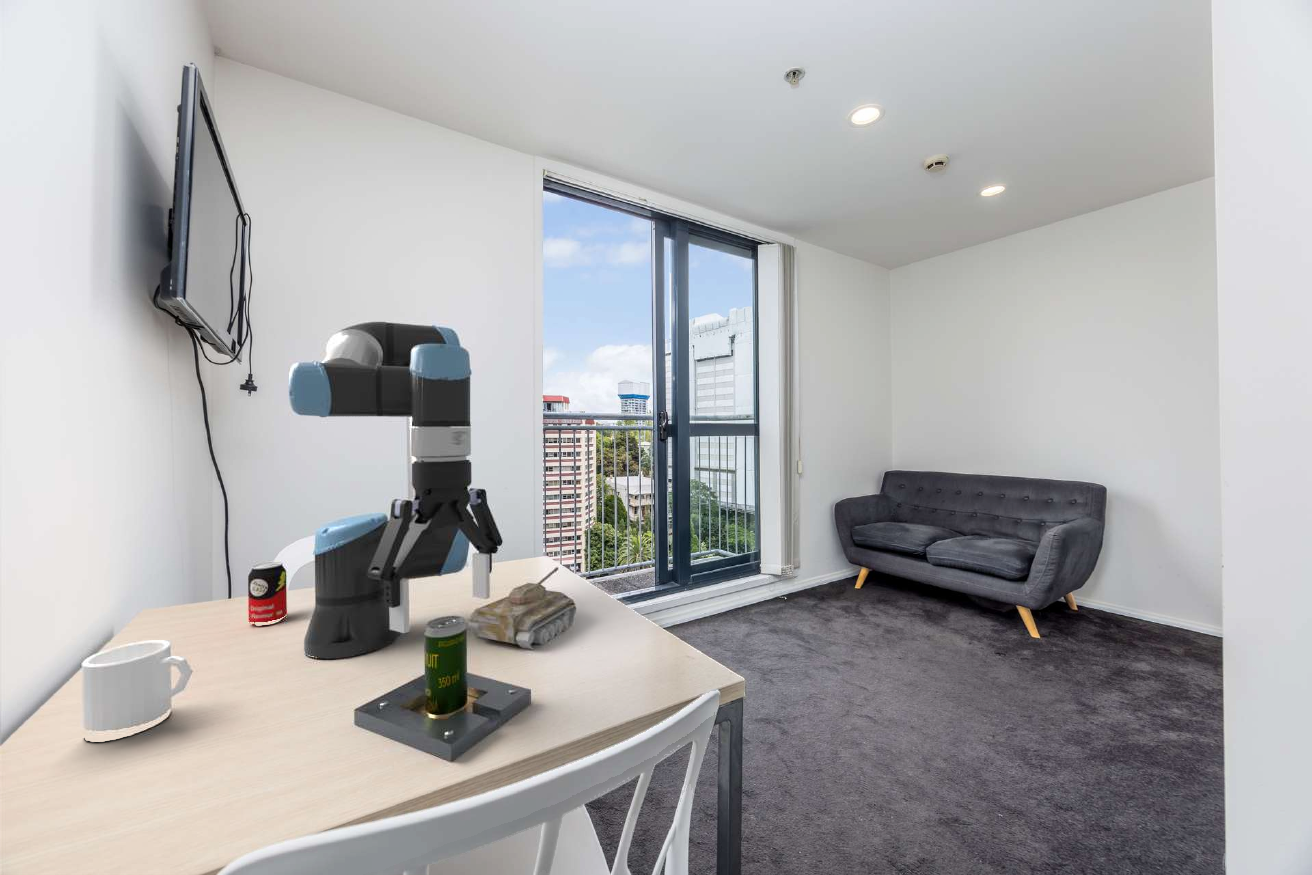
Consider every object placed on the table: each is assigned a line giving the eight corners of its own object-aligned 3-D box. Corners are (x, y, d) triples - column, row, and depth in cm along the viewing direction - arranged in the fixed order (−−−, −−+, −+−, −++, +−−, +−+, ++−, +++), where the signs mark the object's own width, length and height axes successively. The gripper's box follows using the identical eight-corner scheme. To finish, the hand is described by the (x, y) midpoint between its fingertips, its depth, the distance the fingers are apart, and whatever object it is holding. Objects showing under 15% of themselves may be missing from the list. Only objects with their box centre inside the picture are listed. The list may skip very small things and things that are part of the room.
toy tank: (463, 643, 93) (463, 589, 93) (531, 608, 111) (530, 563, 111) (530, 656, 87) (529, 599, 87) (590, 617, 105) (589, 570, 105)
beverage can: (244, 623, 104) (243, 566, 104) (280, 614, 109) (279, 559, 109) (255, 630, 100) (254, 570, 100) (291, 620, 105) (291, 563, 105)
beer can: (454, 695, 72) (453, 612, 72) (475, 707, 69) (474, 620, 69) (417, 711, 68) (416, 623, 68) (437, 725, 64) (436, 632, 65)
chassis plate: (354, 724, 66) (354, 707, 66) (441, 678, 79) (441, 664, 79) (451, 761, 58) (450, 742, 58) (531, 703, 71) (530, 688, 71)
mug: (164, 740, 63) (163, 662, 63) (63, 745, 62) (62, 666, 62) (216, 706, 71) (215, 637, 71) (127, 710, 71) (126, 640, 71)
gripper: (373, 466, 55) (376, 654, 56) (525, 454, 78) (526, 589, 78) (332, 464, 59) (335, 642, 59) (489, 453, 81) (490, 582, 82)
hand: (444, 612), depth 69 cm, fingers open, 13 cm apart
